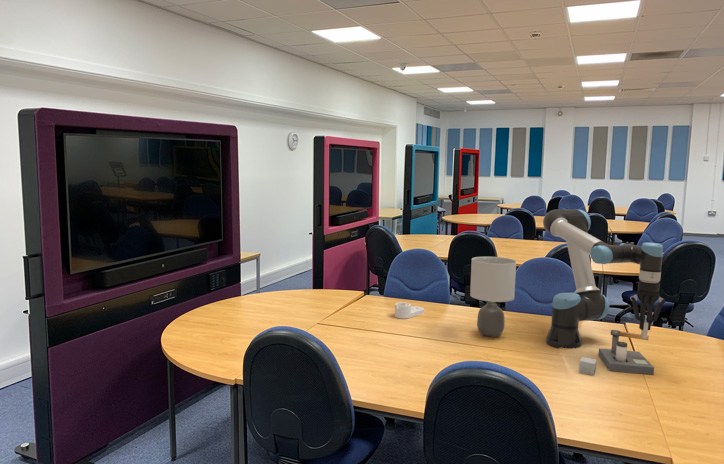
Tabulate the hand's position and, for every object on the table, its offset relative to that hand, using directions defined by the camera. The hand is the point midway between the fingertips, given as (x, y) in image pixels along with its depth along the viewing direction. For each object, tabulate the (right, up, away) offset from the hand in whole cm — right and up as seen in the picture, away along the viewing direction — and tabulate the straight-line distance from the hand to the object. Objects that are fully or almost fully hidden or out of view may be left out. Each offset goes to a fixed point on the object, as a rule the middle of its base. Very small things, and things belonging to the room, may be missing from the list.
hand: (643, 337), depth 204 cm
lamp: (-53, -7, +38) cm, 66 cm away
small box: (-26, -13, -6) cm, 30 cm away
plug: (-10, -12, 0) cm, 16 cm away
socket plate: (-7, -12, +2) cm, 14 cm away
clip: (-4, -1, +5) cm, 6 cm away
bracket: (-89, -2, +71) cm, 114 cm away
